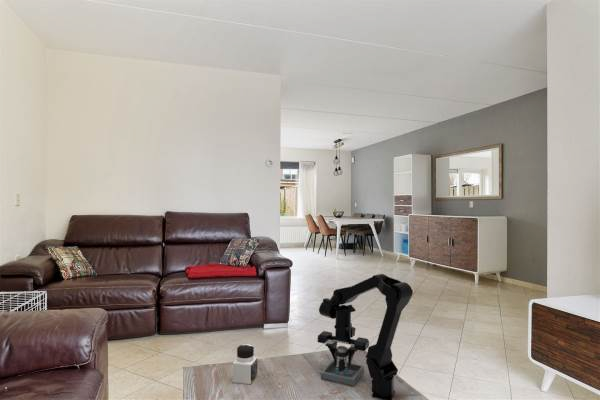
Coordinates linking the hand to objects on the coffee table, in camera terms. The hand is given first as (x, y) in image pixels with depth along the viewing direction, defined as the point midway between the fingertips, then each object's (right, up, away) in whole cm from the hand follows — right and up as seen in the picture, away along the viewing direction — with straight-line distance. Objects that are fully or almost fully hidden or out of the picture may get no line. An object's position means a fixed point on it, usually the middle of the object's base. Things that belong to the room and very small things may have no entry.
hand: (342, 363), depth 138 cm
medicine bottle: (-36, -5, -3) cm, 37 cm away
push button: (0, -4, 0) cm, 4 cm away
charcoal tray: (0, -5, 0) cm, 5 cm away
